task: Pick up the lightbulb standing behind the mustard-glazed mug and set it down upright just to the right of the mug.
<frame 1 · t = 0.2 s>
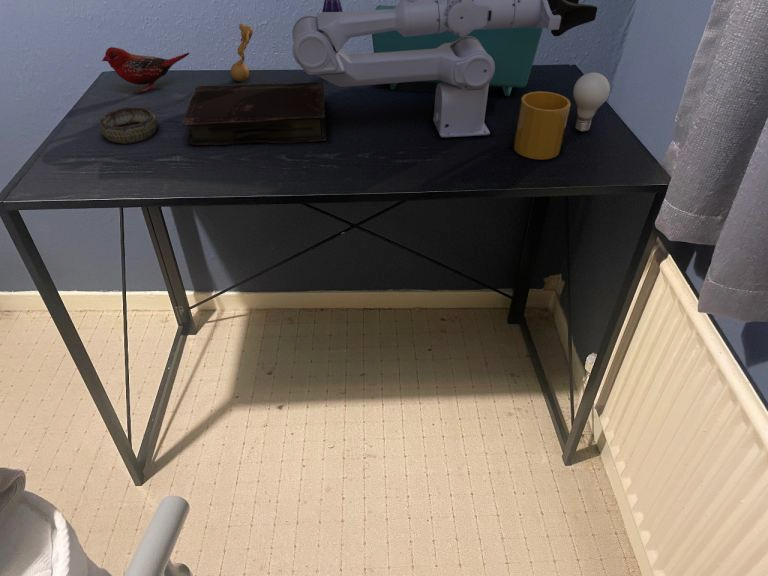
hand: (586, 5, 99), 21 cm above the table, tool horizontal, fingers open, 7 cm apart
figurine: (246, 81, 128), on the table
radio: (450, 87, 126), on the table
mug: (536, 148, 104), on the table
decorative ring: (131, 134, 108), on the table
toy lamp: (335, 77, 130), on the table
lightbulb: (581, 131, 110), on the table
diary: (260, 125, 111), on the table
decorative bird figurine: (156, 90, 124), on the table
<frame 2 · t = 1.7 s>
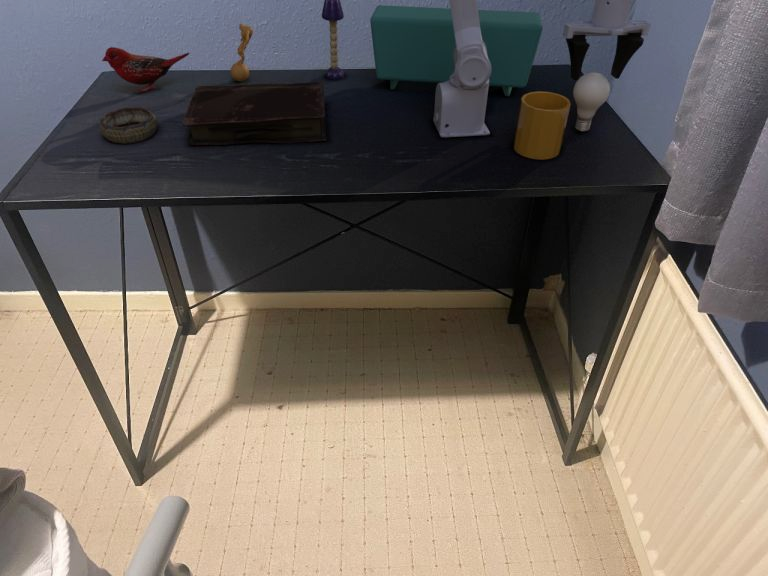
hand: (594, 77, 103), 10 cm above the table, tool pointing down, fingers open, 7 cm apart
nothing on the table moved.
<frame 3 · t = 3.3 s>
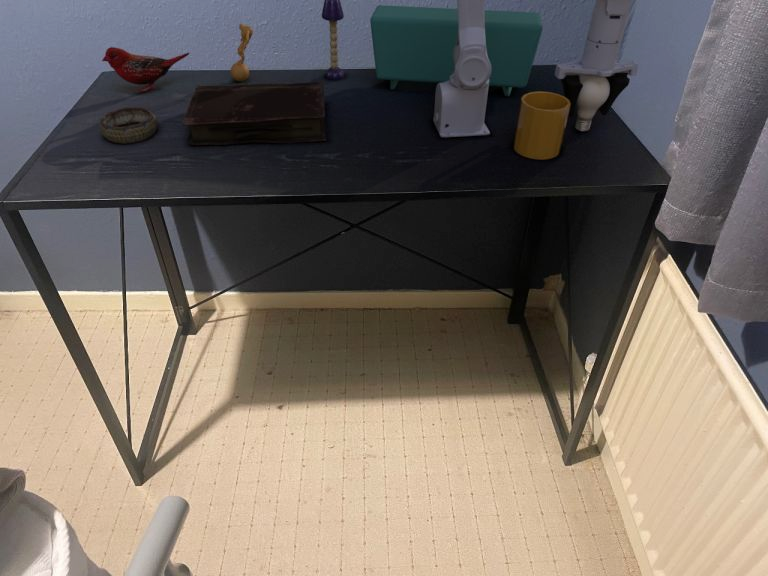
hand: (585, 114, 108), 3 cm above the table, tool pointing down, fingers closed on lightbulb, 6 cm apart
lightbulb: (581, 131, 110), on the table, touching gripper
everything else where it was.
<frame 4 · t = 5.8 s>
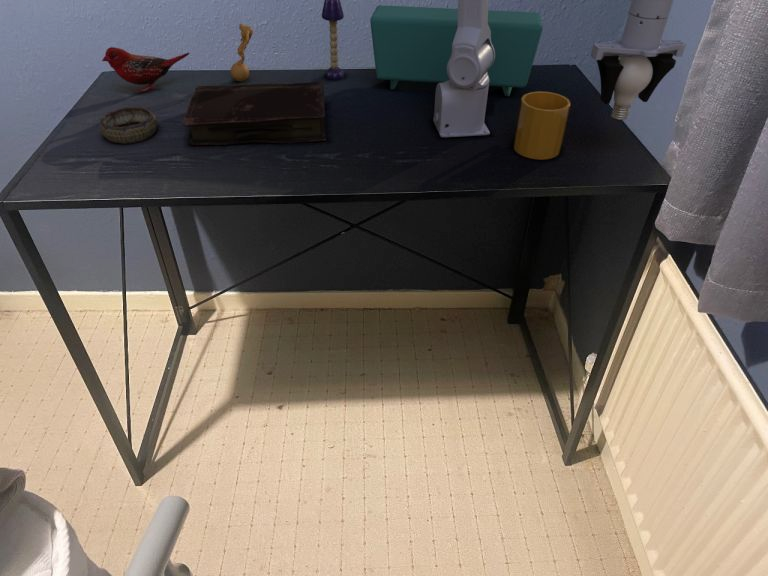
hand: (623, 100, 96), 10 cm above the table, tool pointing down, fingers closed on lightbulb, 6 cm apart
lightbulb: (617, 120, 98), point 6 cm above the table, touching gripper
everything else where it was.
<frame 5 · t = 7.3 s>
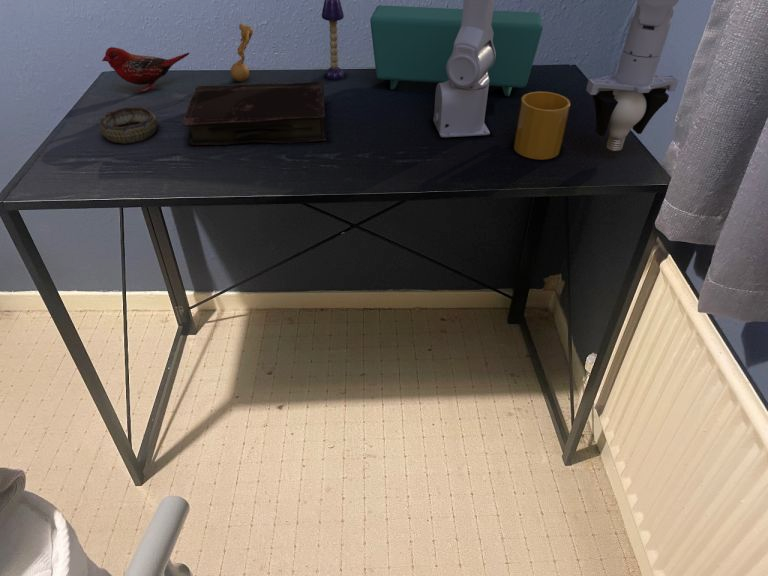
hand: (618, 132, 99), 5 cm above the table, tool pointing down, fingers closed on lightbulb, 6 cm apart
lightbulb: (612, 151, 101), point 1 cm above the table, touching gripper
everything else where it was.
when the fingers open (3 cm above the table, at t = 8.4 s): lightbulb stays where it is, on the table.
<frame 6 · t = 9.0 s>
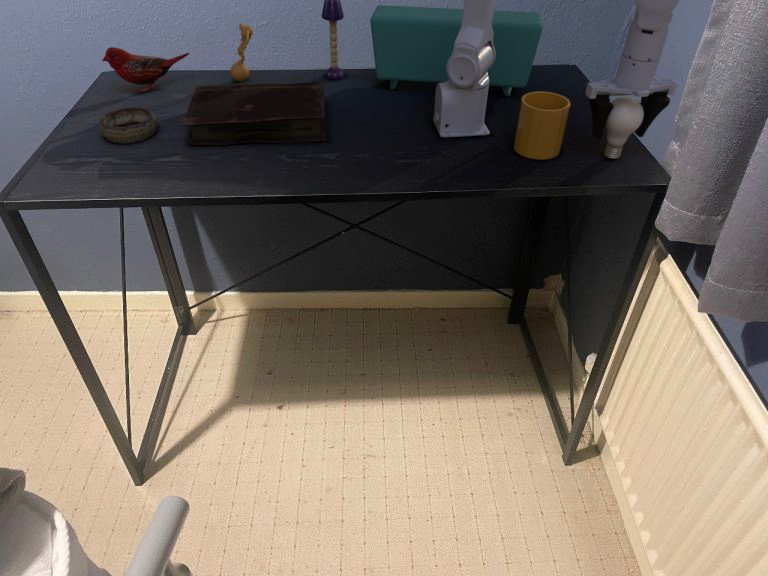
hand: (617, 135, 99), 4 cm above the table, tool pointing down, fingers open, 7 cm apart
lightbulb: (610, 159, 102), on the table
everything else where it was.
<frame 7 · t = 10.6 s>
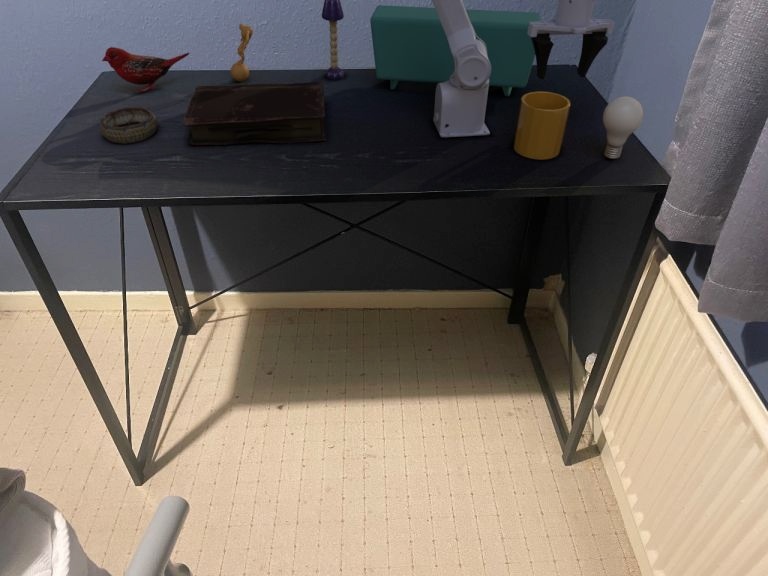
hand: (560, 76, 103), 10 cm above the table, tool pointing down, fingers open, 7 cm apart
nothing on the table moved.
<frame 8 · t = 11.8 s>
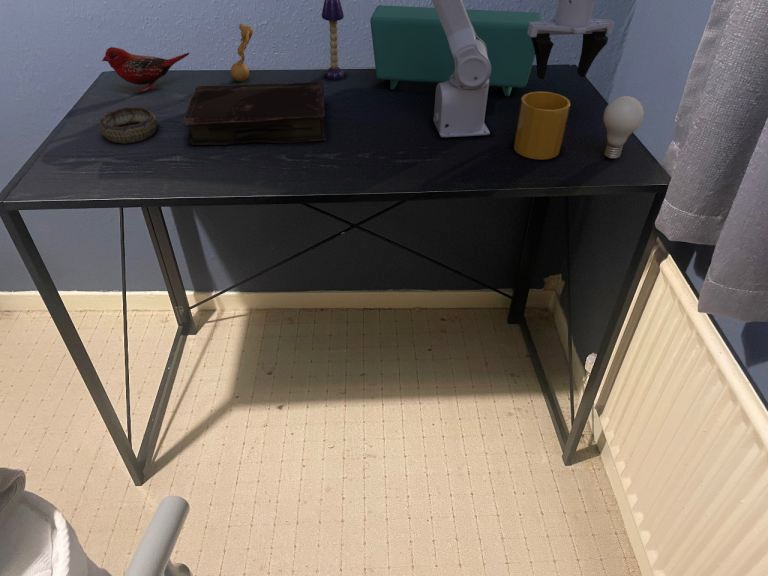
hand: (560, 76, 103), 10 cm above the table, tool pointing down, fingers open, 7 cm apart
nothing on the table moved.
at the end: lightbulb inside the target area on the table beside the mug (0.6 cm from its centre), on the table; lightbulb tilted 1°; the gripper is holding nothing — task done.
